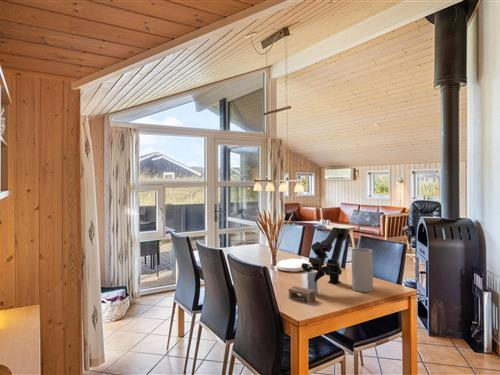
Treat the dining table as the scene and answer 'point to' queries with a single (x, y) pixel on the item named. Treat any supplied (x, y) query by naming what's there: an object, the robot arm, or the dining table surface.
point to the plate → (292, 264)
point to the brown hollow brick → (304, 291)
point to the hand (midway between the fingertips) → (311, 280)
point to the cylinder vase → (362, 270)
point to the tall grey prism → (311, 282)
